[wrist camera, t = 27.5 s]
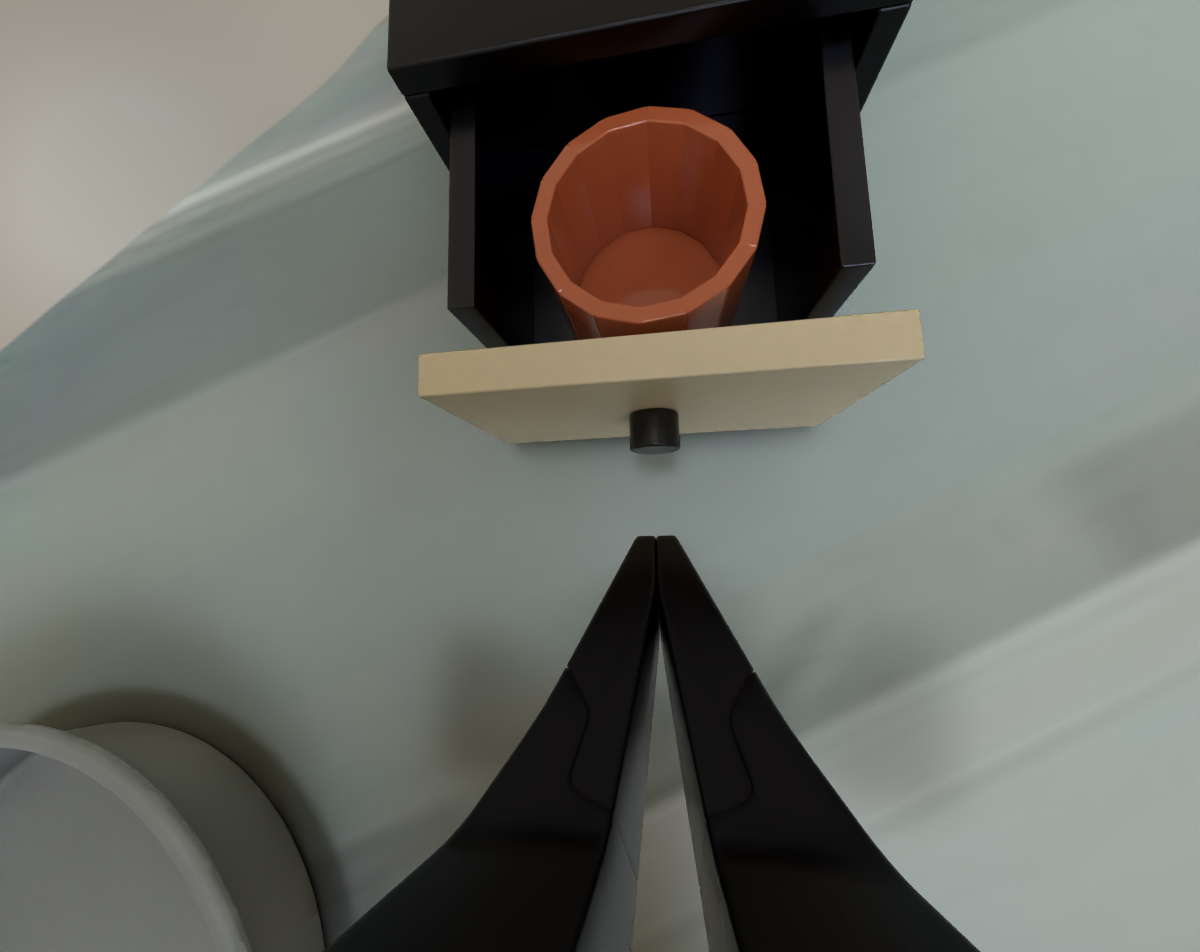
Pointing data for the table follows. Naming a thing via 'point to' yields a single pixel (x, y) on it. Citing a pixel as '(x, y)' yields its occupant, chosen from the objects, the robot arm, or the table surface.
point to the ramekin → (649, 224)
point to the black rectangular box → (590, 39)
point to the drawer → (690, 357)
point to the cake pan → (142, 847)
